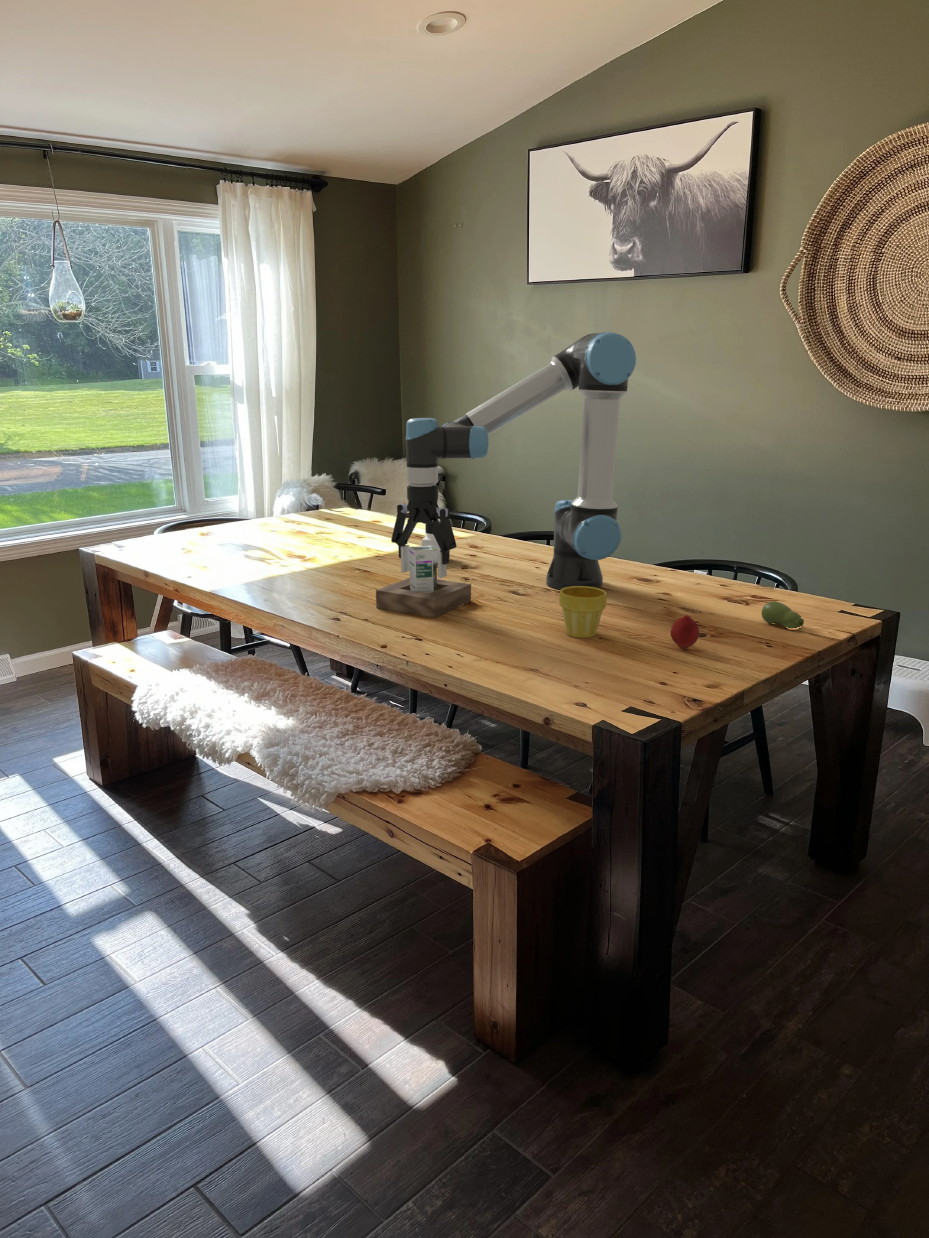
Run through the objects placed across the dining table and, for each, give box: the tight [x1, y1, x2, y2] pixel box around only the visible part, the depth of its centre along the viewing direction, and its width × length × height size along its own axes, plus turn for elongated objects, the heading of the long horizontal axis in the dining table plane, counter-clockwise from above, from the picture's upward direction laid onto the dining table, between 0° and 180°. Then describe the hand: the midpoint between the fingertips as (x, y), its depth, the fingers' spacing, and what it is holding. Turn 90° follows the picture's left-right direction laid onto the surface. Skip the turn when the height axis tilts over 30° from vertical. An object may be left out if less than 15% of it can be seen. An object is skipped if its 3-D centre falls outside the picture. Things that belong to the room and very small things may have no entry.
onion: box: [670, 612, 700, 650], centre depth 187 cm, size 6×6×8 cm
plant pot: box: [558, 586, 608, 639], centre depth 198 cm, size 10×10×10 cm
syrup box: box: [409, 545, 438, 593], centre depth 221 cm, size 6×6×14 cm
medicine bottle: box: [420, 520, 451, 564], centre depth 268 cm, size 7×7×12 cm
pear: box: [761, 600, 805, 628], centre depth 204 cm, size 6×5×10 cm
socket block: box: [375, 577, 472, 619], centre depth 222 cm, size 17×17×4 cm
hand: (423, 574), depth 220 cm, fingers open, 10 cm apart
